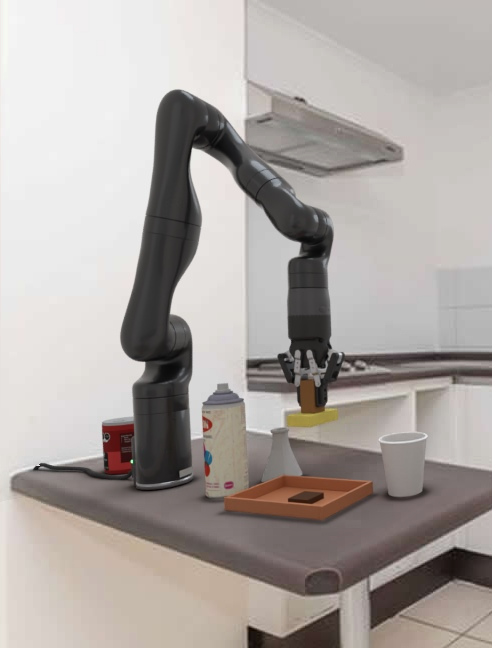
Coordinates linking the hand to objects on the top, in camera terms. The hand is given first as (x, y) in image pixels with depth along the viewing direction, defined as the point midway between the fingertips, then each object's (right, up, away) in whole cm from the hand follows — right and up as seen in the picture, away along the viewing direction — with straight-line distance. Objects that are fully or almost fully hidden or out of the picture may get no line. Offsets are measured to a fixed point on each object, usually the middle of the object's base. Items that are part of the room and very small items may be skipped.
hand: (312, 405), depth 102 cm
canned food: (-47, -17, +17) cm, 53 cm away
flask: (-8, -15, +5) cm, 18 cm away
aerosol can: (-14, -16, -4) cm, 21 cm away
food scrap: (+3, -14, -10) cm, 18 cm away
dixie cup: (+19, -15, -7) cm, 25 cm away
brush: (0, -3, 0) cm, 3 cm away
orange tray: (+2, -15, -10) cm, 18 cm away
